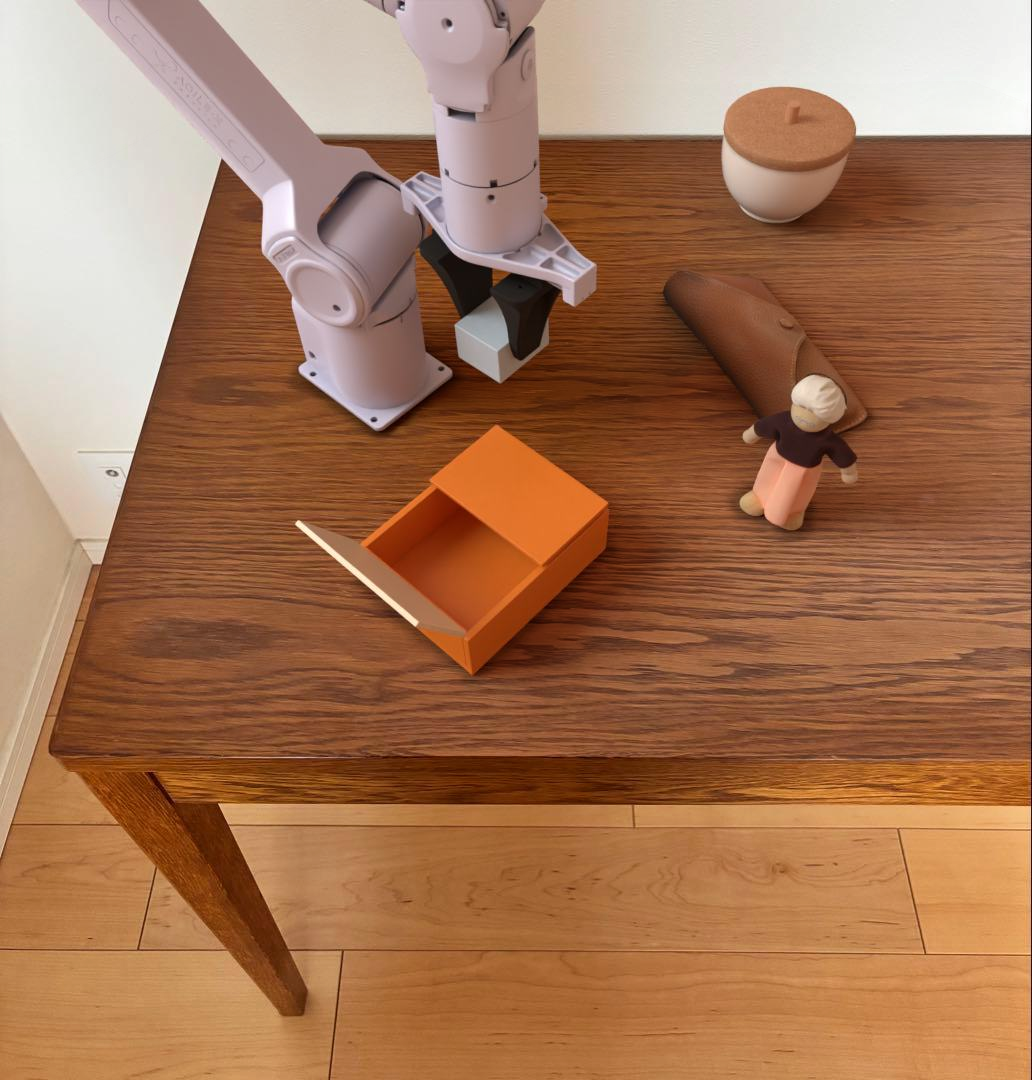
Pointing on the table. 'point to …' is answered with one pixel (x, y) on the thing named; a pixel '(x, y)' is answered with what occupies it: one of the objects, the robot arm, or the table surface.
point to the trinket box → (784, 151)
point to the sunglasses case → (754, 341)
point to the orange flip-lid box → (492, 542)
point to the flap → (382, 581)
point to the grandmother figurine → (798, 453)
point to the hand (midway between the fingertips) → (502, 336)
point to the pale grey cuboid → (490, 341)
